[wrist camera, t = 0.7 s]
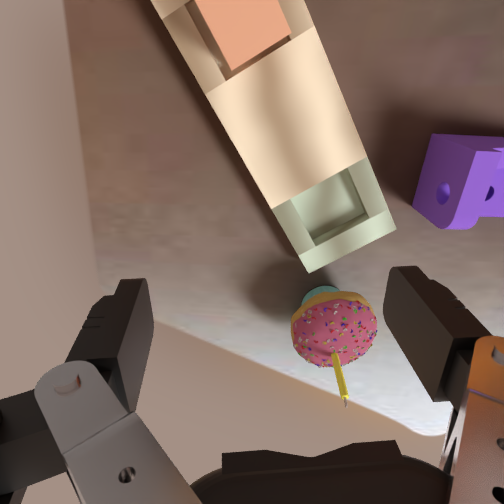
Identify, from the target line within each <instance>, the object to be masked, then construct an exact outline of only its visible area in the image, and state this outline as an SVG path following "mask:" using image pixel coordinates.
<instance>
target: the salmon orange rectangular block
mask: <svg viewBox="0 0 504 504" xmlns="http://www.w3.org/2000/svg"><path fill="white" fill-rule="evenodd" d="M195 2H196V4H197V6H198V9H199V11H200V13H201V15H202V17H203V18H204V20H205V22H206V24H207V26H208V28H209V30H210V32H211V33H212V35H213V37H214V39H215V41H216V43H217V45H218V47H219V49H220V50H221V52H222V54H223V56H224V58H225V60H226V62H227V64H228V66H229V67H230V69H231V70H234V69H235V68H237V67H239V66H240V65H242V64H243V63H245V62H246V61H248V60H250V59H251V58H253V57H254V56H256V55H257V54H259V53H261V52H262V51H264V50H265V49H267V48H269V47H270V46H272V45H273V44H275V43H276V42H278V41H280V40H281V39H283V38H284V37H286V36H288V35H289V34H291V33H292V32H291V30H290V28H289V25H288V23H287V21H286V18H285V16H284V14H283V12H282V9H281V7H280V5H279V2H278V0H195Z"/></svg>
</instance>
